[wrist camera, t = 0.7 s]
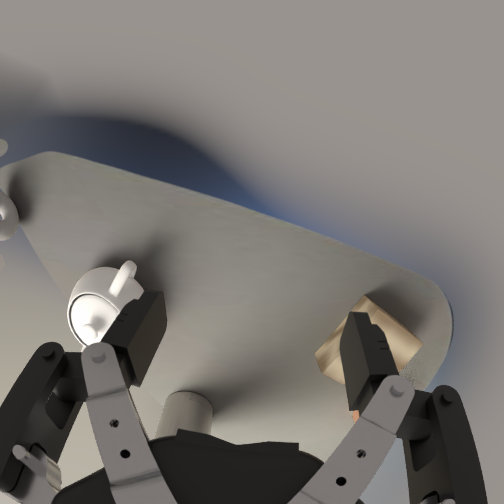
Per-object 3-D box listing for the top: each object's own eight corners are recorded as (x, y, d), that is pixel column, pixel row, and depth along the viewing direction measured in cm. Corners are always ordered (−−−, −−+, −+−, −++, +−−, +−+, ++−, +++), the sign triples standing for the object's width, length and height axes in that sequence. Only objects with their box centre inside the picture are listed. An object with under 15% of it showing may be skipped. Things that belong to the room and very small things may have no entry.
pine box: (362, 380, 49) (373, 399, 43) (313, 353, 47) (322, 373, 41) (407, 328, 47) (423, 343, 41) (363, 294, 45) (378, 308, 39)
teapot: (110, 227, 40) (75, 240, 30) (182, 277, 43) (165, 306, 32) (66, 326, 44) (36, 355, 34) (125, 369, 46) (105, 406, 36)
